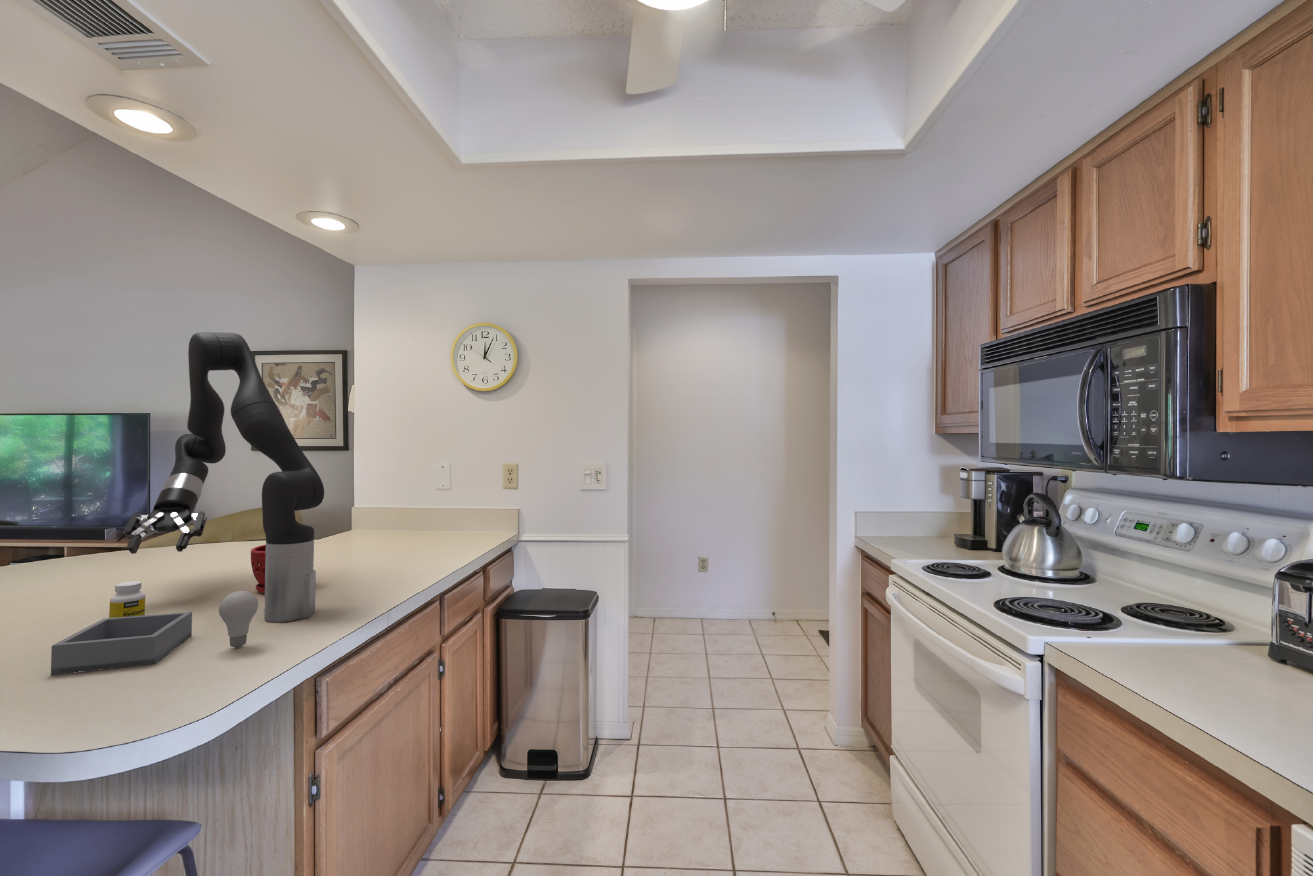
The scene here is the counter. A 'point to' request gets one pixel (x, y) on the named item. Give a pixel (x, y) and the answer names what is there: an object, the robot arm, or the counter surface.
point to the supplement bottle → (127, 600)
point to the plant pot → (259, 566)
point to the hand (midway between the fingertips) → (155, 550)
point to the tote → (121, 642)
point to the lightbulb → (238, 615)
